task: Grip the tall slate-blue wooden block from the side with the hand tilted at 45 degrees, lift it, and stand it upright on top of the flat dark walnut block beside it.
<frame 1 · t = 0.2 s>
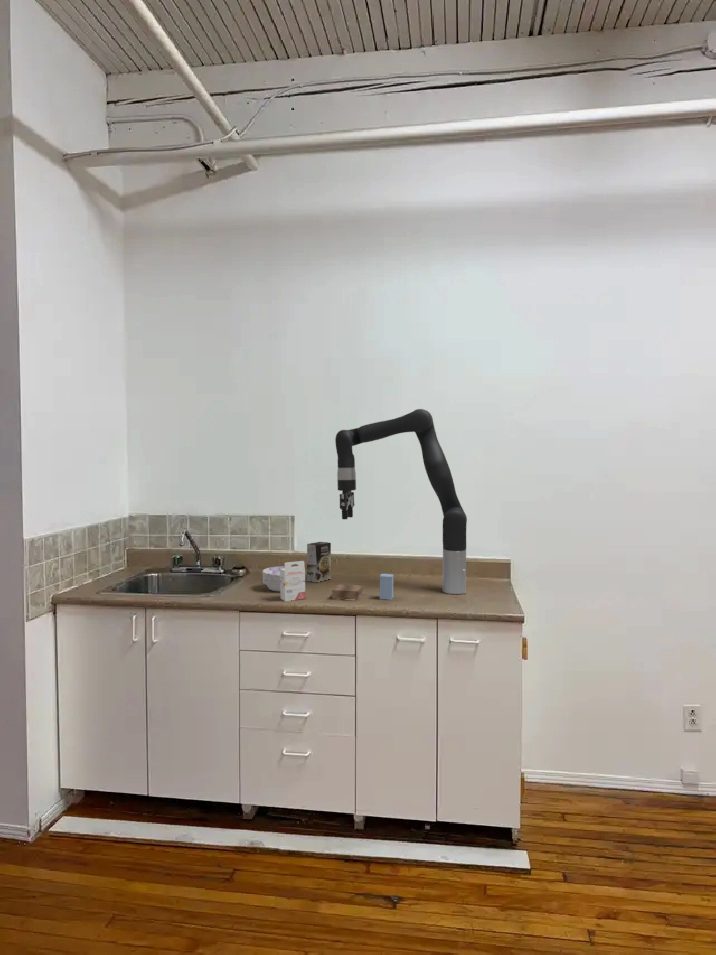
hand: (347, 518, 275), 28 cm above the counter, tool pointing down, fingers open, 8 cm apart
paper bowls: (281, 589, 272), on the counter
walnut block: (347, 598, 259), on the counter
ink cartridge box: (292, 599, 256), on the counter
coffee box: (318, 580, 289), on the counter
slate block: (386, 598, 257), on the counter
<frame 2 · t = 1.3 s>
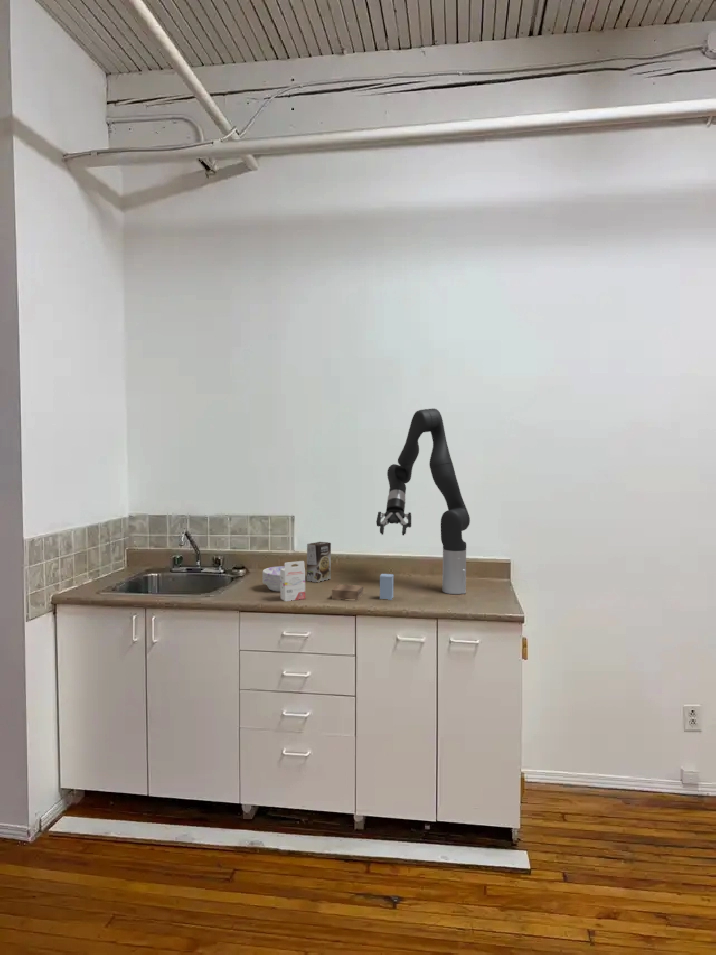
hand: (392, 533, 272), 22 cm above the counter, tool tilted 45°, fingers open, 8 cm apart
nothing on the counter moved.
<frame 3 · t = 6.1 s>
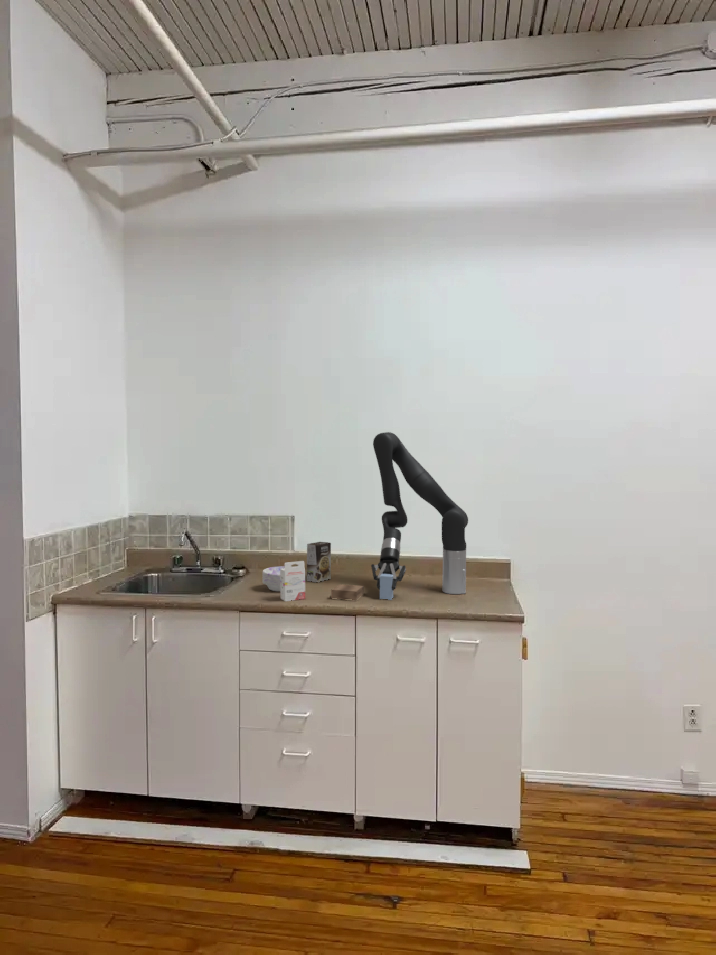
hand: (386, 588, 255), 4 cm above the counter, tool tilted 45°, fingers closed on slate block, 4 cm apart
slate block: (386, 598, 257), on the counter, touching gripper
everything else where it was.
when the fingers open (10 cm above the counter, at t = 12.6 s): slate block drops 2 cm, point 4 cm above the counter.
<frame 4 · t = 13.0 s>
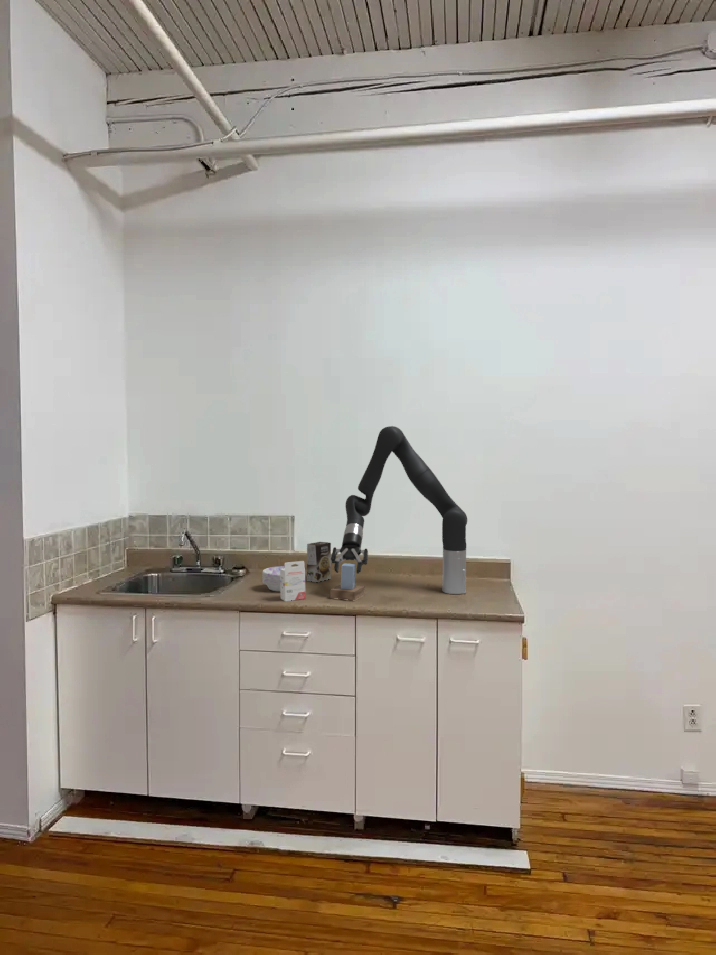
hand: (347, 571, 257), 10 cm above the counter, tool tilted 45°, fingers open, 8 cm apart
slate block: (347, 587, 259), point 4 cm above the counter
everything else where it was.
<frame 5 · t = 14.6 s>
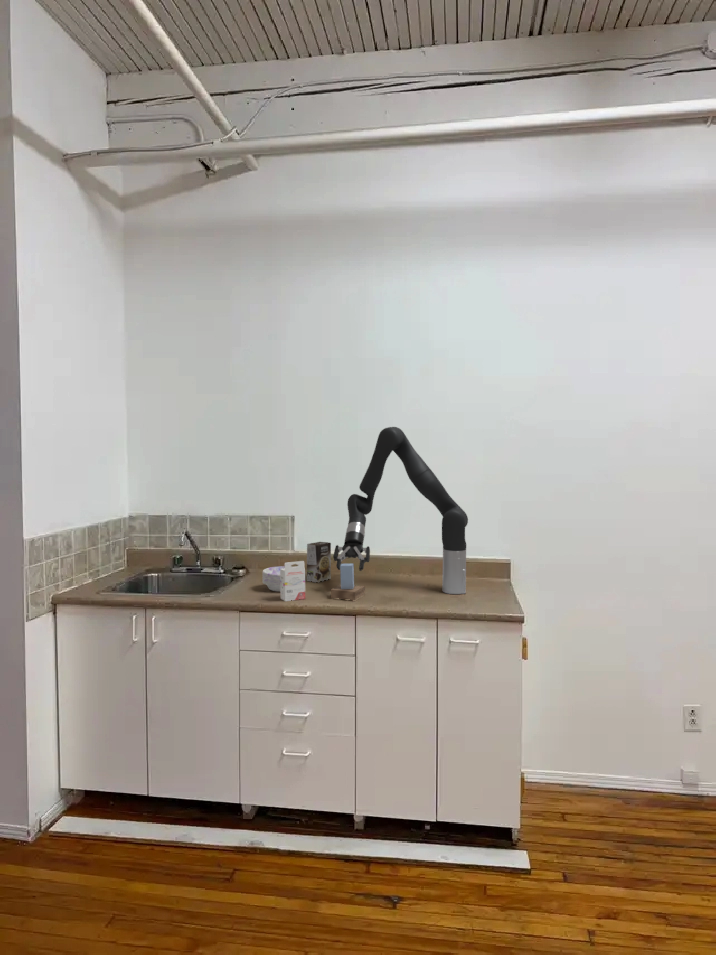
hand: (349, 569, 261), 10 cm above the counter, tool tilted 45°, fingers open, 8 cm apart
walnut block: (348, 598, 259), on the counter, touching slate block
slate block: (347, 587, 259), point 4 cm above the counter, touching walnut block
everything else where it was.
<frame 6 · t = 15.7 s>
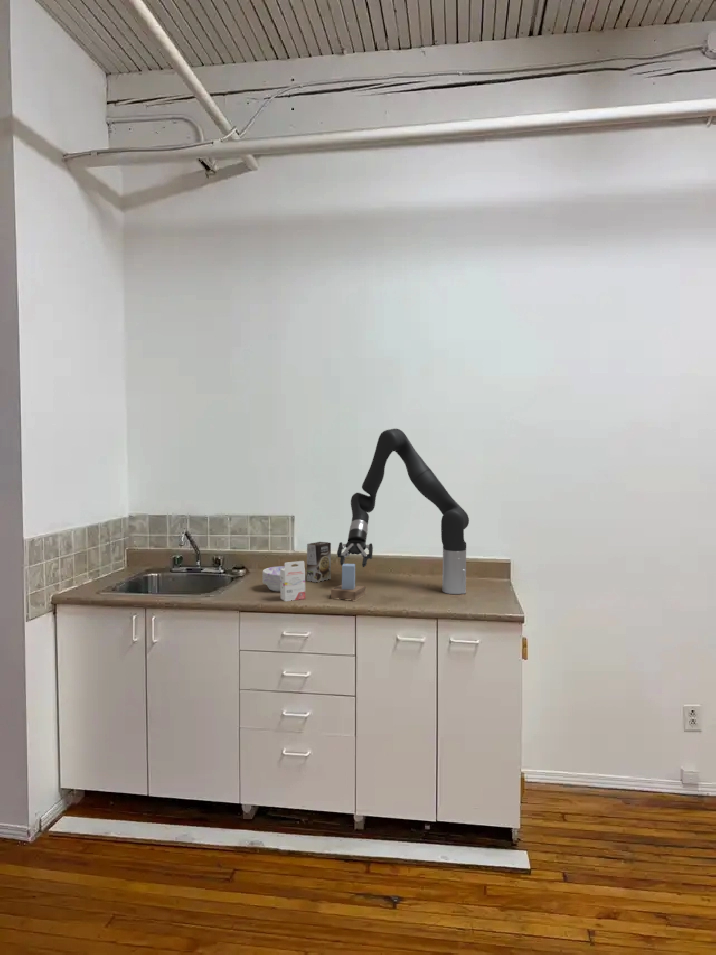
hand: (352, 565, 269), 10 cm above the counter, tool tilted 45°, fingers open, 8 cm apart
nothing on the counter moved.
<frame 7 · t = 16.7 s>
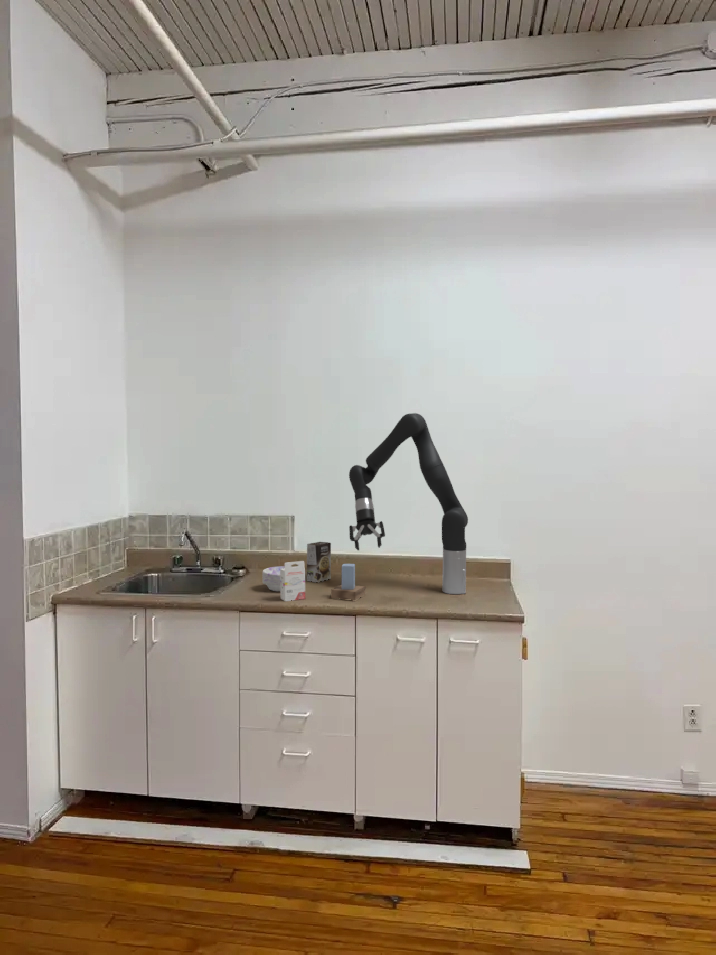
hand: (368, 548, 270), 17 cm above the counter, tool tilted 30°, fingers open, 8 cm apart
nothing on the counter moved.
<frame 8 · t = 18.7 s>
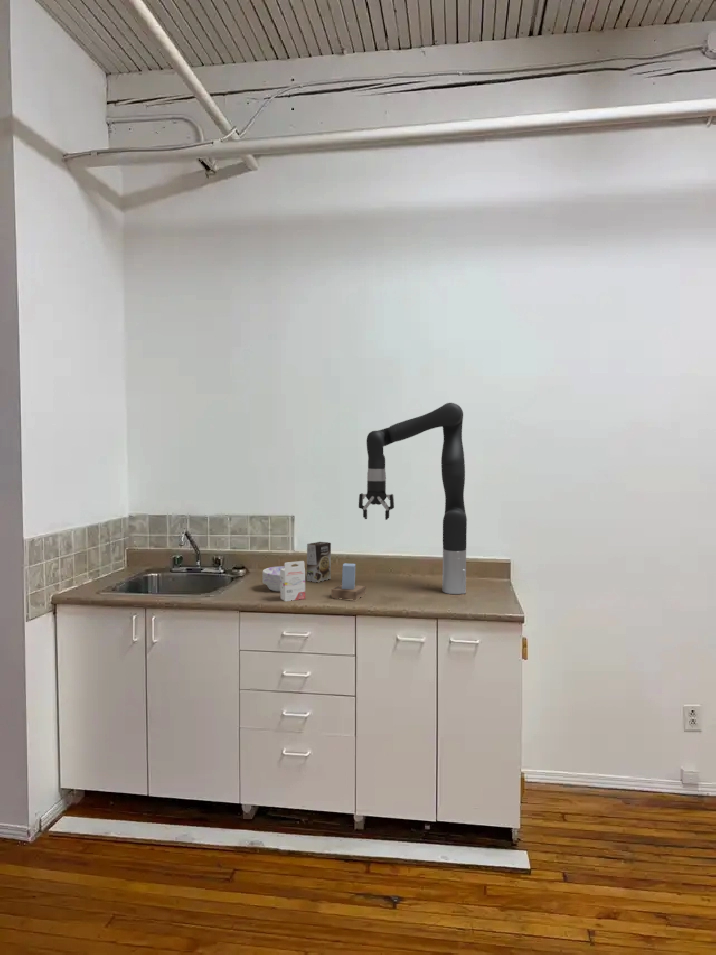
hand: (376, 519, 274), 28 cm above the counter, tool pointing down, fingers open, 8 cm apart
walnut block: (348, 598, 259), on the counter
slate block: (348, 587, 259), point 4 cm above the counter
everything else where it was.
at the end: slate block 0.4 cm off-centre on the walnut block, point 4.1 cm above the walnut block's base; slate block tilted 2°; the gripper is holding nothing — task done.
